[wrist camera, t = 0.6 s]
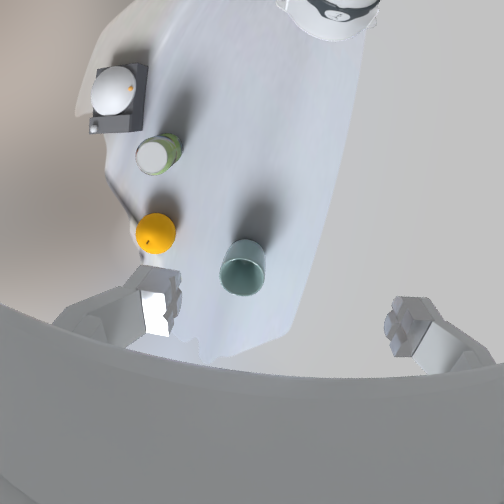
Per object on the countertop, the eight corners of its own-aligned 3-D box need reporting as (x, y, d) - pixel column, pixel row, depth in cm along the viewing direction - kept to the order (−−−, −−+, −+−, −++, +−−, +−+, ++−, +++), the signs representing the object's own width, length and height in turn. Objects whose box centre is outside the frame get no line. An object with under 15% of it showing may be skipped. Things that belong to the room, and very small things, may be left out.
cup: (230, 230, 54) (221, 253, 45) (270, 237, 54) (269, 262, 45) (225, 264, 57) (216, 292, 48) (262, 271, 57) (260, 300, 49)
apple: (185, 219, 54) (173, 233, 47) (172, 250, 57) (160, 268, 50) (150, 202, 52) (134, 214, 46) (140, 234, 56) (124, 250, 49)
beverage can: (153, 134, 46) (122, 140, 36) (190, 130, 46) (166, 134, 35) (155, 166, 49) (126, 180, 38) (191, 164, 49) (169, 176, 38)
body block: (108, 71, 40) (90, 68, 35) (149, 66, 40) (134, 61, 35) (103, 131, 46) (85, 134, 41) (143, 130, 46) (127, 132, 40)
